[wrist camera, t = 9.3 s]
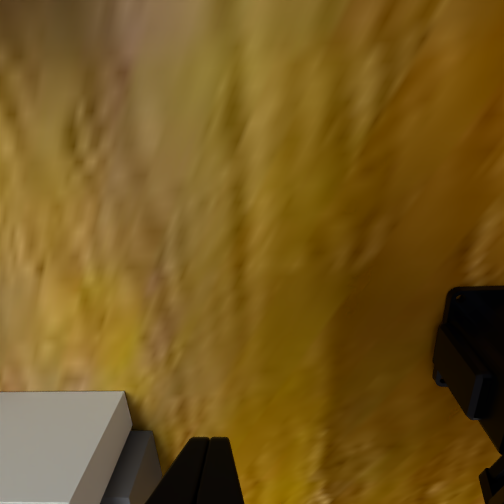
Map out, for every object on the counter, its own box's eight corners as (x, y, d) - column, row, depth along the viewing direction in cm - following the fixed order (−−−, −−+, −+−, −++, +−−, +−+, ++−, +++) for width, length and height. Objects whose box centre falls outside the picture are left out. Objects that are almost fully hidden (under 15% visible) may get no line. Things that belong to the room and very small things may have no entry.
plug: (152, 429, 25) (128, 497, 21) (162, 474, 27) (142, 545, 22) (65, 429, 25) (25, 496, 21) (81, 474, 27) (46, 543, 23)
